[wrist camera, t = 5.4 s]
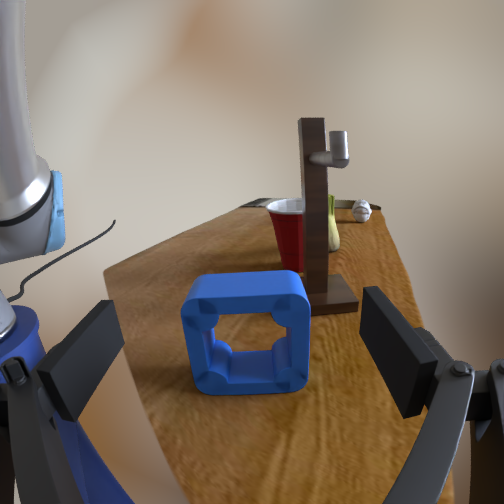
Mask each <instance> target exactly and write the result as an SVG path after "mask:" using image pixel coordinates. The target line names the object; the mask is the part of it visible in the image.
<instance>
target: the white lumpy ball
mask: <svg viewBox="0 0 504 504" xmlns="http://www.w3.org/2000/svg"><path fill="white" fill-rule="evenodd" d="M352 214H353V216H354V218H355V219H356V220H357V221H358V222H365V221H367V220H368V218H369V216H370V214H371V209H370V206H369V204H368V203H367V201H364V200H358V201H355V203H354V205H353V209H352Z"/></svg>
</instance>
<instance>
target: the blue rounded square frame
mask: <svg viewBox="0 0 504 504" xmlns="http://www.w3.org/2000/svg"><path fill="white" fill-rule="evenodd" d="M264 312H271V314H272V317H273V319H274V321H275V322H276V323H277V324H279V325H281V326H283V327H286V337H283V338H280V339H278V340H277V341H276V342H275V343H274V344H273V346H272V350H266V351H244V352H232V351H231V348H230V347H229V345H228V344H226V343H225V342H223V341H220V340H215V335H214V328H213V327H215V326H216V324H217V322H218V319H219V315H220V314H244V313H264ZM181 318H182V324H183V329H184V334H185V339H186V345H187V349H188V354H189V359H190V364H191V368H192V373H193V378H194V382H195V385H196V387H197V388H198V389H199V390H200V391H201V392H203V393H205V394H208V395H248V394H271V393H287V392H295V391H298V390H300V389H302V388H303V387H304V386H305V385H306V383H307V381H308V371H309V346H310V304H309V301H308V298H307V295H306V292H305V290H304V287H303V284H302V281H301V279H300V277H299V276H298V275H297V274H296V273H295V272H293V271H290V270H278V271H261V272H243V273H223V274H205V275H201V276H199V277H198V278H196V279H195V281H194V283H193V285H192V287H191V289H190V291H189V293H188V295H187V297H186V299H185V301H184V304H183V306H182V308H181Z"/></svg>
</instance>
